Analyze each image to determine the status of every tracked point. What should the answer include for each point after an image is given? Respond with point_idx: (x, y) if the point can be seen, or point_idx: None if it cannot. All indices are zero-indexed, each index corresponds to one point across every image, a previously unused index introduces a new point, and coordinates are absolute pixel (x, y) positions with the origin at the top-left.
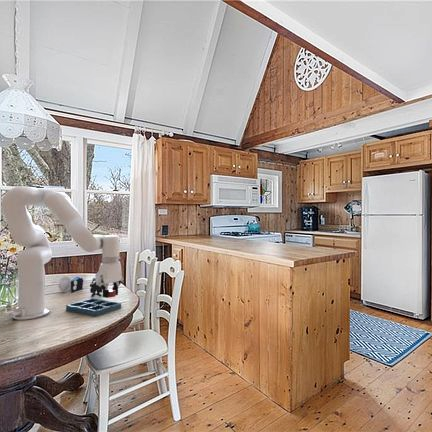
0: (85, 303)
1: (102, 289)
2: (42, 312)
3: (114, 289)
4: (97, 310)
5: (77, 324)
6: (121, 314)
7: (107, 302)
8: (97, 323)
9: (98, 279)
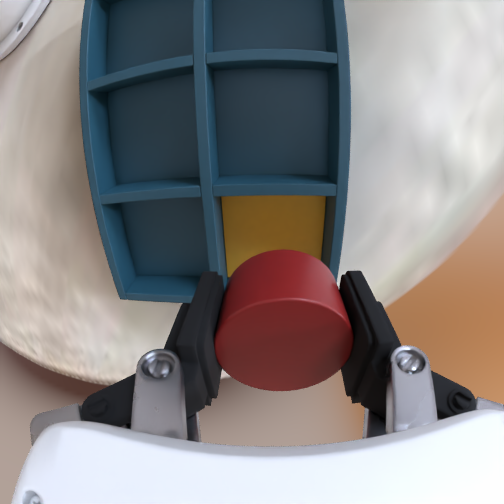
0: (193, 18)
1: (156, 359)
2: (14, 25)
3: (350, 351)
4: (132, 299)
5: (57, 293)
6: None
7: (303, 190)
8: (112, 347)
9: (26, 483)
